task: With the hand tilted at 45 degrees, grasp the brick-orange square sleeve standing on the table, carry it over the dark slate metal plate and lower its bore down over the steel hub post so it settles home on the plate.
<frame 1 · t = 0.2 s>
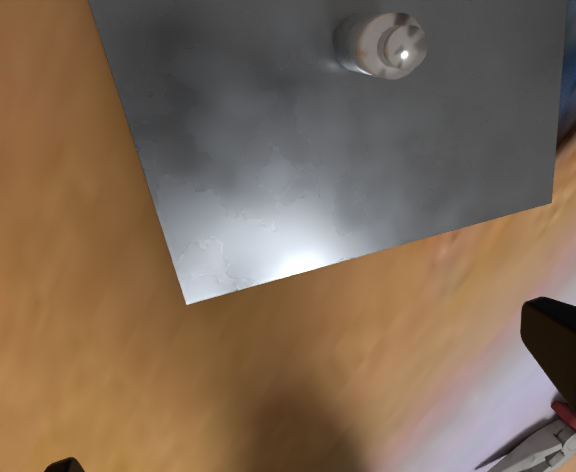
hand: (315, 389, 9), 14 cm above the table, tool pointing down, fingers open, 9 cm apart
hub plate: (350, 42, 21), on the table
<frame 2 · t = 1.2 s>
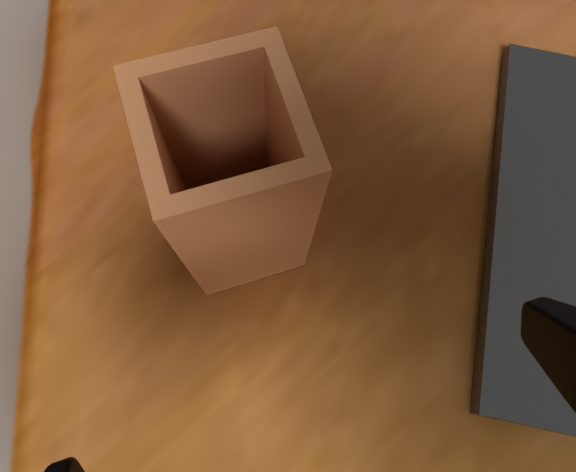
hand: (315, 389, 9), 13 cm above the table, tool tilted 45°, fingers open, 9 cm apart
sleeve: (241, 233, 24), on the table
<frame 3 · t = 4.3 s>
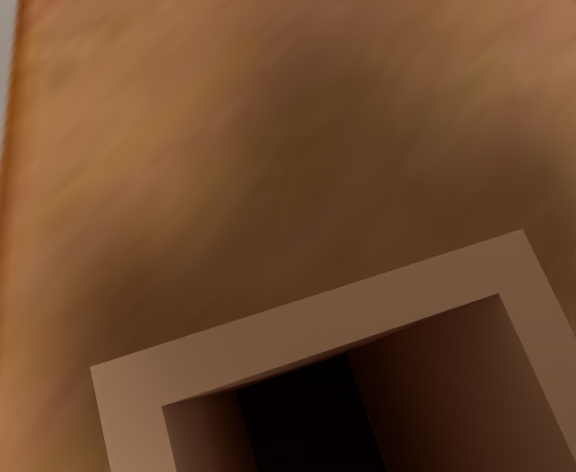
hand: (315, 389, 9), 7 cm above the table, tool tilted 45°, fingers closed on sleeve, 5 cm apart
sleeve: (310, 431, 15), on the table, touching gripper
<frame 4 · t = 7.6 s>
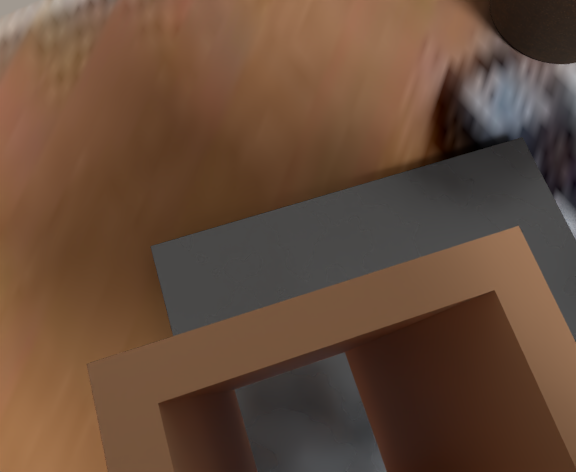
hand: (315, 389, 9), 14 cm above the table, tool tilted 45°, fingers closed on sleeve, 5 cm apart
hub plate: (416, 386, 22), on the table
sleeve: (309, 429, 15), point 7 cm above the table, touching gripper
plant pot: (549, 15, 29), on the table
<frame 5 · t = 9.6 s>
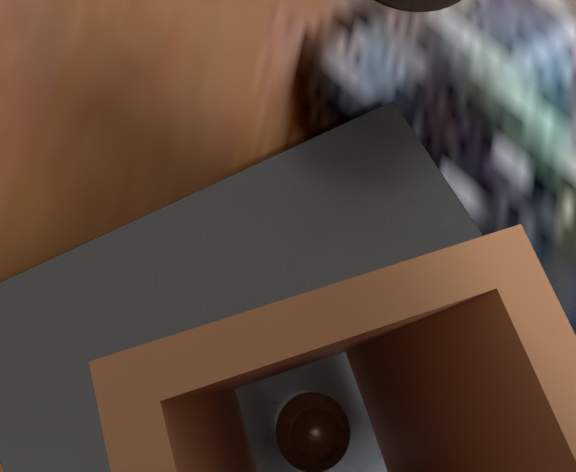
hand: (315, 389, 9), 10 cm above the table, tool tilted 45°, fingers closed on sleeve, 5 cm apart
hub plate: (302, 419, 18), on the table
sleeve: (309, 429, 15), point 3 cm above the table, touching gripper
when the fingers open (9 cm above the table, at t = 11.0 s): sleeve stays where it is, resting on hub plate.
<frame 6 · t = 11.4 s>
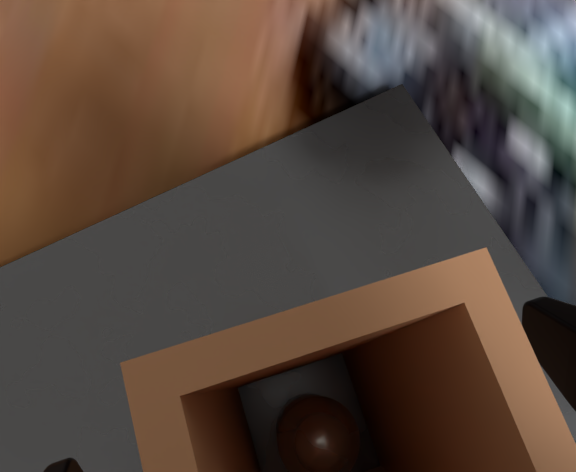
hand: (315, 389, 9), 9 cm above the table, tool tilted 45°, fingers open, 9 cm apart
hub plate: (306, 425, 17), on the table
sleeve: (307, 426, 16), point 1 cm above the table, touching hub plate
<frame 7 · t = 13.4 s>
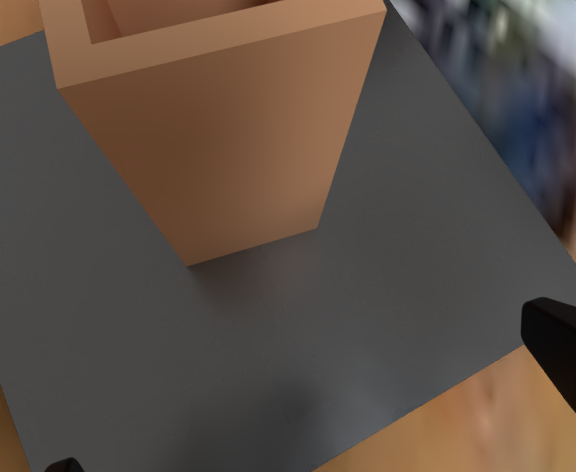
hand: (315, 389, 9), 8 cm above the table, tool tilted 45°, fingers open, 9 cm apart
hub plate: (236, 197, 19), on the table
sleeve: (234, 186, 18), point 1 cm above the table, touching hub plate
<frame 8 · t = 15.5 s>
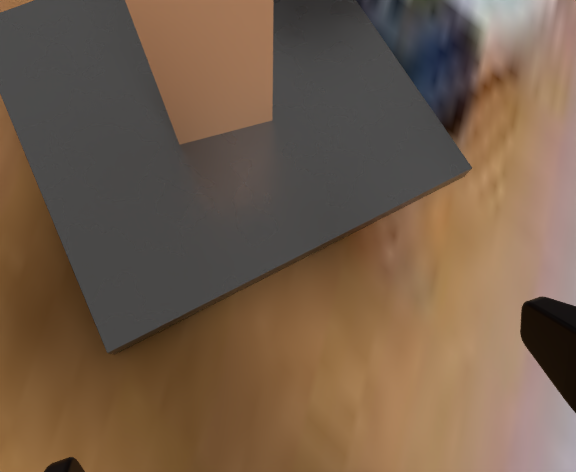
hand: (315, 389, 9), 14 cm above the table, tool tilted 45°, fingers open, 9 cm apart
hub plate: (216, 104, 26), on the table
sleeve: (213, 92, 25), point 1 cm above the table, touching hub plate
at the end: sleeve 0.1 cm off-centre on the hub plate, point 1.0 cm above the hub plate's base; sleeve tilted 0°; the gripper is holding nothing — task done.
